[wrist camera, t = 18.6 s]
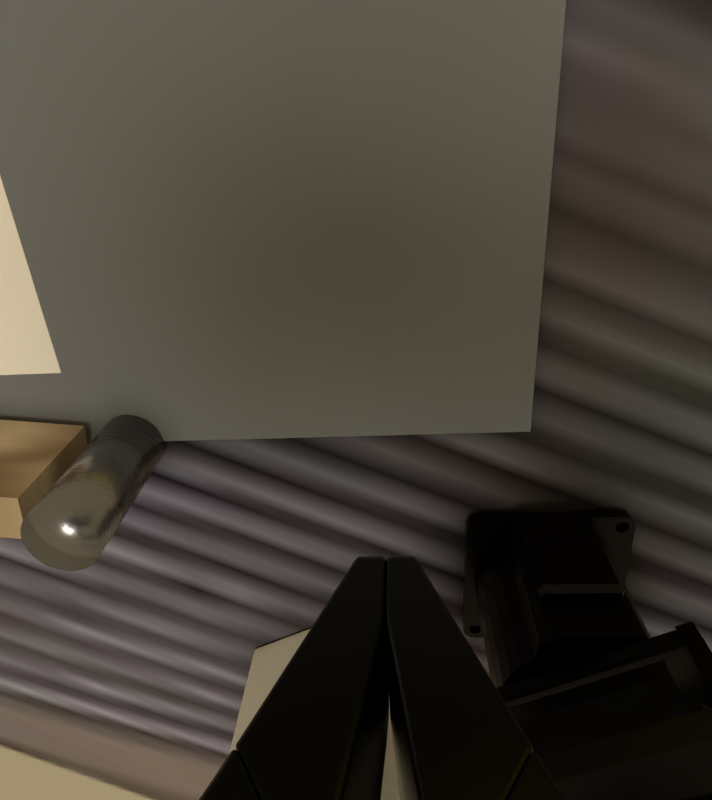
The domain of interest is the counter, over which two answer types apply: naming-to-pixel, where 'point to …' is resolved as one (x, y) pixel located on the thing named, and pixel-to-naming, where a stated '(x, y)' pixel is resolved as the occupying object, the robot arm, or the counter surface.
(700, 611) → the counter surface
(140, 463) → the olive long rounded piece
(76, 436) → the tan wooden bar
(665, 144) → the counter surface
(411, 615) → the robot arm
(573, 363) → the counter surface
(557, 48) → the grey panel
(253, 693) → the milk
